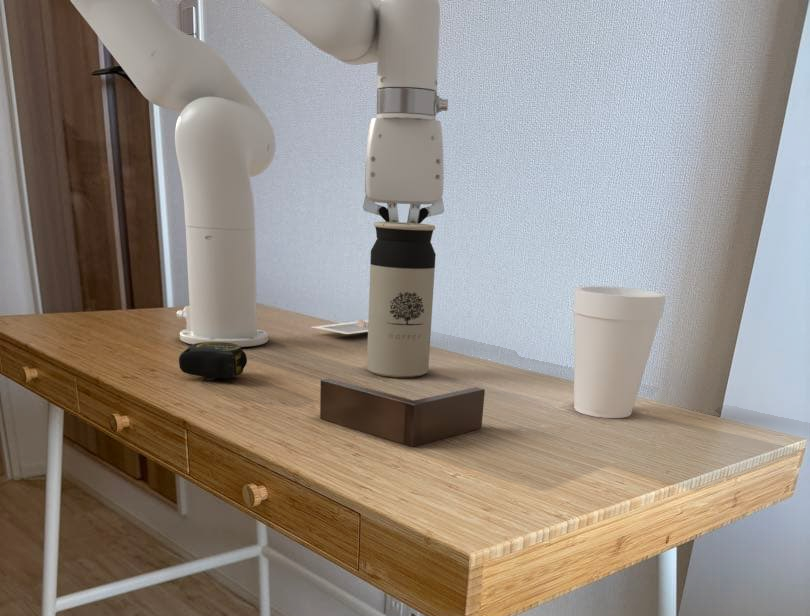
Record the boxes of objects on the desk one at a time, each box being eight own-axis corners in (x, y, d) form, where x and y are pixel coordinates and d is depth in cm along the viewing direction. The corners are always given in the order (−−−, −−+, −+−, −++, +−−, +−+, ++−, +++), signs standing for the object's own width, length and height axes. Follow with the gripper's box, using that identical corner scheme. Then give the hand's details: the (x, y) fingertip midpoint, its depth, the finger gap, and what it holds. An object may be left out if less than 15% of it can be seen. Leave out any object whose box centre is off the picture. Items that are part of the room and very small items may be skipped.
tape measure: (176, 380, 97) (174, 348, 95) (203, 369, 103) (201, 338, 102) (231, 386, 96) (230, 353, 94) (254, 374, 102) (254, 343, 100)
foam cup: (544, 402, 96) (558, 285, 91) (610, 398, 99) (627, 286, 94) (593, 424, 88) (611, 297, 83) (662, 419, 91) (684, 297, 86)
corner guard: (319, 418, 84) (320, 379, 83) (390, 403, 92) (392, 367, 90) (412, 447, 77) (414, 404, 75) (481, 428, 84) (485, 389, 82)
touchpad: (310, 334, 131) (310, 320, 130) (373, 326, 142) (374, 313, 141) (346, 341, 126) (347, 327, 126) (409, 332, 137) (409, 319, 136)
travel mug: (368, 364, 111) (374, 220, 104) (428, 367, 111) (437, 224, 104) (364, 376, 104) (369, 223, 97) (427, 380, 104) (437, 226, 97)
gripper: (461, 112, 109) (454, 260, 116) (347, 108, 108) (346, 256, 115) (468, 107, 102) (460, 264, 109) (346, 102, 101) (346, 261, 108)
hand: (401, 260), depth 112 cm, fingers closed
